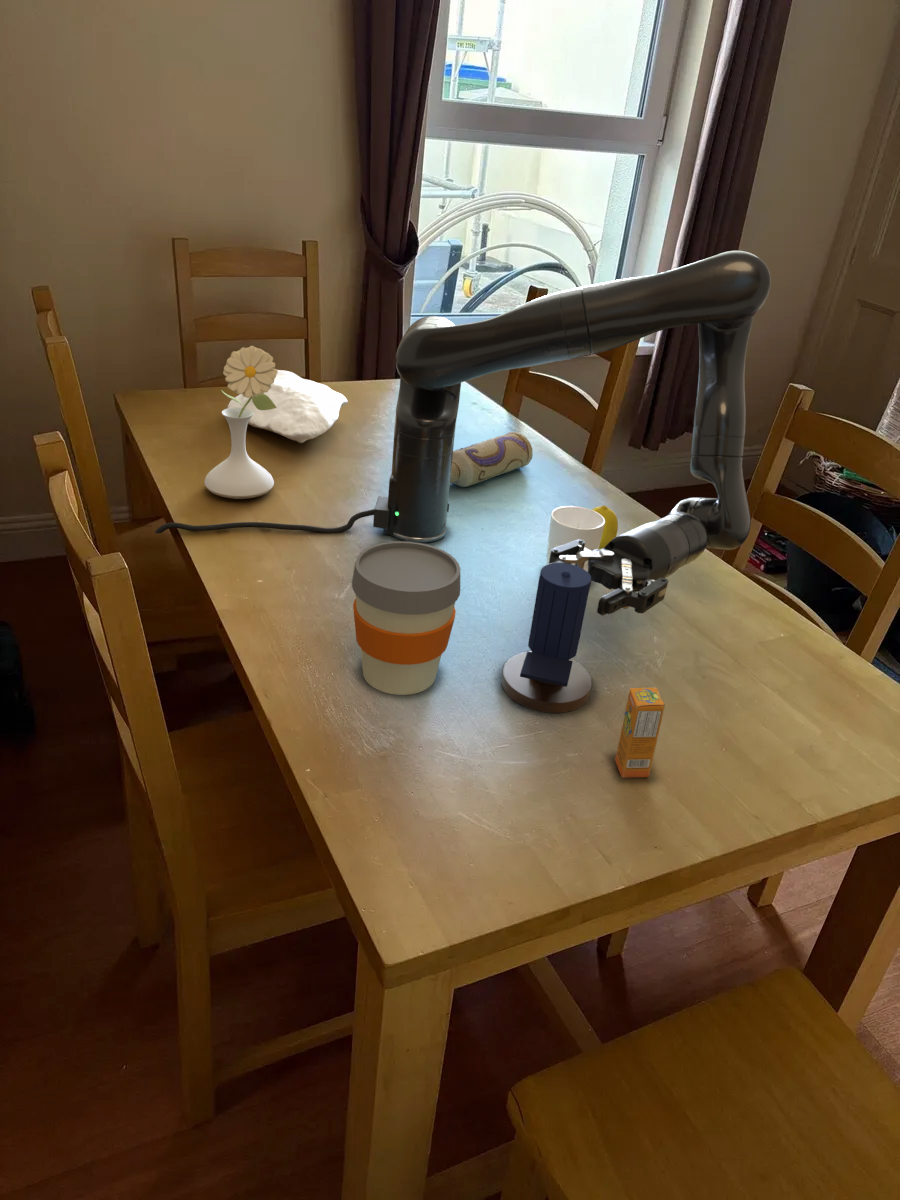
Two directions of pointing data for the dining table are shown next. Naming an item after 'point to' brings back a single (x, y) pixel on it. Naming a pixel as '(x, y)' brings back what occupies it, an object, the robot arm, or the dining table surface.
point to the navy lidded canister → (556, 623)
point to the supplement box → (639, 732)
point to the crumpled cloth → (296, 407)
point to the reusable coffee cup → (403, 613)
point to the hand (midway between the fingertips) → (571, 592)
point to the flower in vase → (244, 426)
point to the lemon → (607, 525)
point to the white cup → (575, 528)
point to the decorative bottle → (490, 459)
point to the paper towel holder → (546, 688)
